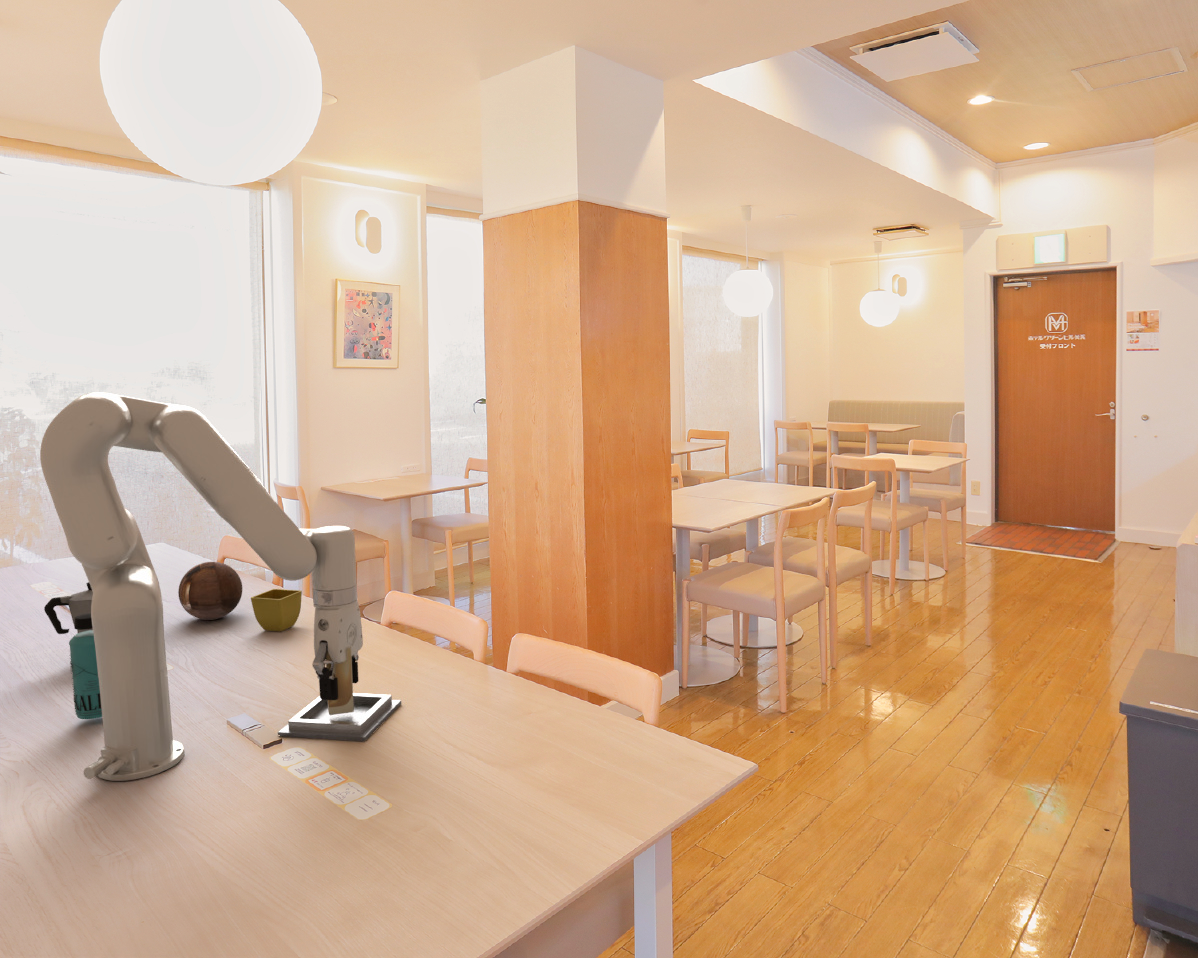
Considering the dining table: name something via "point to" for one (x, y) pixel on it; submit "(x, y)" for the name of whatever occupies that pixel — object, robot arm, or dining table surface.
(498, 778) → the dining table surface
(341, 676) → the skincare box
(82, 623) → the beverage bottle
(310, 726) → the square metal tray
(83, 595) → the coffeepot
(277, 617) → the flower pot
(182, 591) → the wooden sphere
